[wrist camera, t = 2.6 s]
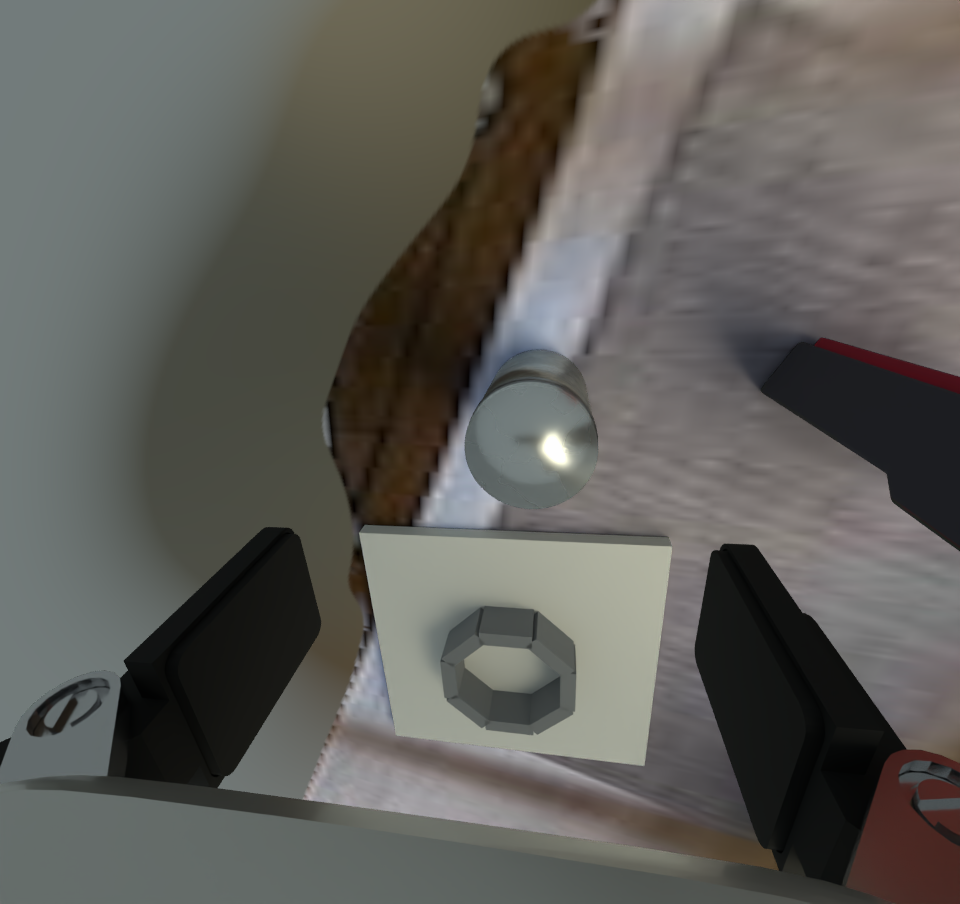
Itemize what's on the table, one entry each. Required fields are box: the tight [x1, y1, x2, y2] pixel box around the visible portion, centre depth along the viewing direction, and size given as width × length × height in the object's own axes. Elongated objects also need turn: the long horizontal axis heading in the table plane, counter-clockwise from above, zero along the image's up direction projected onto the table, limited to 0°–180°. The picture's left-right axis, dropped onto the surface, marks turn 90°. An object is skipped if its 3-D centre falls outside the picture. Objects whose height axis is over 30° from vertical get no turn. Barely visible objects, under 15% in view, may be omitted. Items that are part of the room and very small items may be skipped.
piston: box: [465, 350, 598, 509], centre depth 22 cm, size 6×6×8 cm
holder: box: [359, 525, 672, 766], centre depth 32 cm, size 20×20×4 cm
